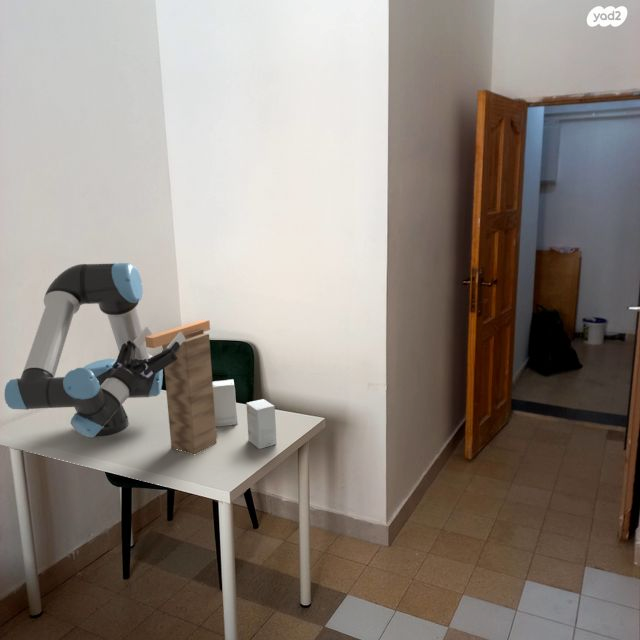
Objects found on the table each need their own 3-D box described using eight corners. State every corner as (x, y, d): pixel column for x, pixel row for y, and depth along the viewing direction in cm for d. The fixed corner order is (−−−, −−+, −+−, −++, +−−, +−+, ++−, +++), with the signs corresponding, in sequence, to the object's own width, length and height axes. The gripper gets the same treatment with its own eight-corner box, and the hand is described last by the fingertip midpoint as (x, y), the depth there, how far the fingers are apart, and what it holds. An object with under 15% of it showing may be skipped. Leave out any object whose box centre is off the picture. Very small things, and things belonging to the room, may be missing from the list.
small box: (277, 444, 189) (275, 405, 186) (259, 449, 186) (256, 410, 183) (265, 435, 196) (263, 398, 193) (247, 440, 193) (245, 402, 190)
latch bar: (146, 347, 171) (145, 336, 170) (202, 328, 191) (202, 319, 190) (153, 348, 169) (152, 338, 168) (210, 329, 189) (209, 320, 188)
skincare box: (237, 418, 211) (234, 378, 207) (237, 425, 205) (235, 384, 202) (213, 420, 210) (210, 380, 206) (213, 427, 204) (210, 386, 200)
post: (171, 448, 188) (161, 334, 180) (193, 436, 197) (184, 327, 188) (195, 454, 183) (185, 337, 175) (216, 442, 192) (208, 330, 183)
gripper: (95, 388, 170) (141, 337, 183) (158, 402, 157) (202, 347, 170) (81, 370, 166) (129, 319, 178) (145, 383, 153) (192, 327, 166)
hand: (165, 332), depth 174 cm, fingers open, 13 cm apart
